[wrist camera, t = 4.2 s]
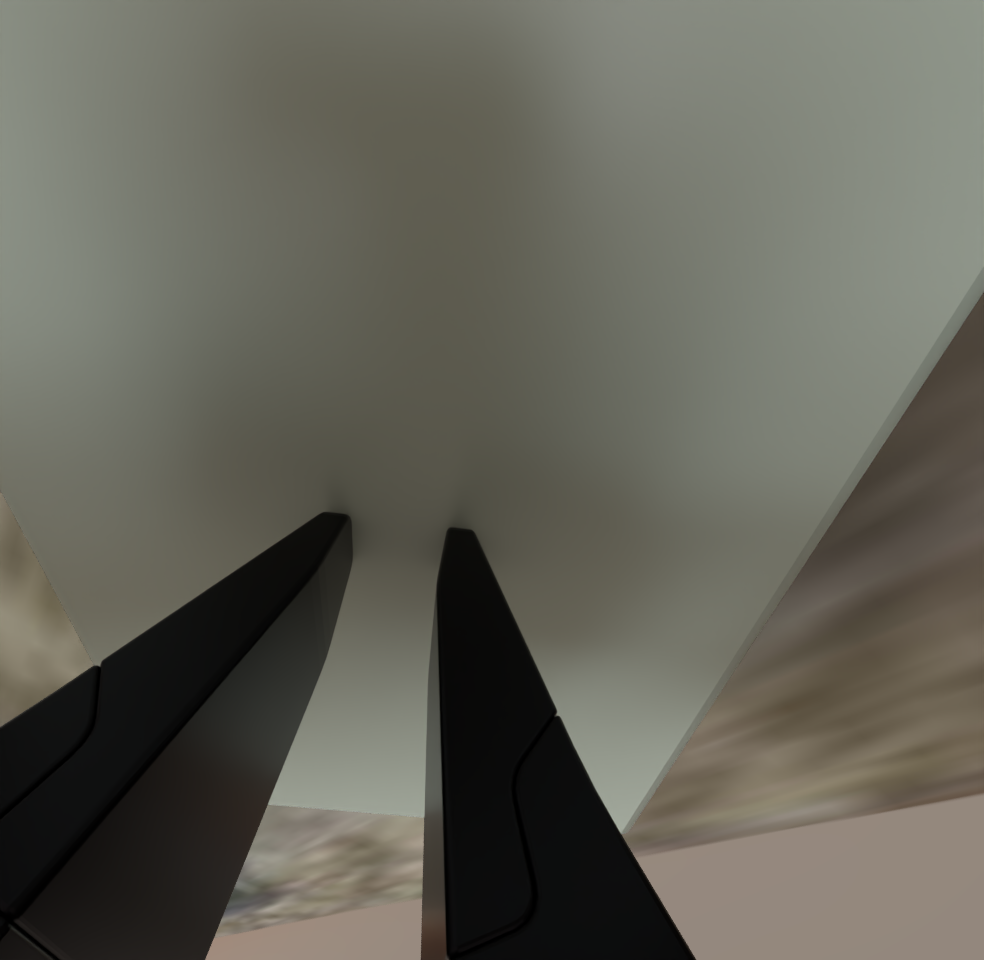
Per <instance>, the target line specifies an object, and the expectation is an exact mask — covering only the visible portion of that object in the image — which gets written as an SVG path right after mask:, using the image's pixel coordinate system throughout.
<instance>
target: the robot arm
mask: <svg viewBox="0 0 984 960" xmlns="http://www.w3.org/2000/svg"><path fill="white" fill-rule="evenodd" d="M352 561H353V541H352V521H351V518H350V516H349V515H347V514H342V513H334V512H322V513H320V514H318V515H317V516H315V517H314V518H312V519H311V520H309V521H308V522H306V523H305V524H303V525H302V526H300V527H299V528H297V529H296V530H294V531H293V532H291V533H290V534H289V535H287V536H286V537H284V538H283V539H281V540H280V541H278V542H277V543H275V544H274V545H272V546H271V547H269V548H268V549H266V550H265V551H263V552H262V553H260V554H259V555H257V556H256V557H254V558H253V559H251V560H250V561H248V562H247V563H246V564H244V565H243V566H241V567H240V568H238V569H237V570H235V571H234V572H232V573H231V574H229V575H228V576H226V577H225V578H223V579H222V580H220V581H219V582H217V583H216V584H214V585H213V586H211V587H210V588H208V589H207V590H205V591H204V592H203V593H201V594H200V595H198V596H197V597H195V598H194V599H192V600H191V601H189V602H188V603H186V604H185V605H183V606H182V607H180V608H179V609H177V610H176V611H174V612H173V613H171V614H170V615H168V616H167V617H165V618H164V619H162V620H161V621H160V622H158V623H157V624H155V625H154V626H152V627H151V628H149V629H148V630H146V631H145V632H143V633H142V634H140V635H139V636H137V637H136V638H134V639H133V640H131V641H130V642H128V643H127V644H125V645H124V646H122V647H121V648H119V649H118V650H117V651H115V652H114V653H112V654H111V655H109V656H108V657H106V658H105V659H103V660H102V662H101V664H100V666H98V665H95V666H92V667H91V668H89V669H88V670H86V671H85V672H83V673H82V674H80V675H79V676H78V677H76V678H75V679H73V680H72V681H70V682H69V683H67V684H66V685H64V686H63V687H61V688H60V689H58V690H57V691H55V692H54V693H52V694H50V695H49V696H47V697H46V698H44V699H43V700H41V701H40V702H38V703H37V704H35V705H34V706H32V707H30V708H29V709H27V710H26V711H24V712H23V713H21V714H20V715H18V716H17V717H15V718H14V719H12V720H10V721H9V722H7V723H6V724H4V725H3V726H1V727H0V960H205V958H206V956H207V954H208V951H209V948H210V946H211V944H212V941H213V939H214V936H215V934H216V931H217V929H218V926H219V924H220V921H221V919H222V916H223V914H224V912H225V909H226V907H227V904H228V902H229V899H230V897H231V894H232V892H233V889H234V887H235V884H236V882H237V879H238V877H239V874H240V872H241V870H242V867H243V865H244V862H245V860H246V857H247V855H248V852H249V850H250V847H251V845H252V842H253V840H254V837H255V835H256V832H257V830H258V827H259V825H260V823H261V820H262V818H263V815H264V813H265V810H266V808H267V805H268V803H269V800H270V798H271V795H272V793H273V790H274V788H275V785H276V783H277V781H278V778H279V776H280V773H281V771H282V768H283V766H284V763H285V761H286V758H287V756H288V753H289V751H290V748H291V746H292V743H293V741H294V739H295V736H296V734H297V731H298V729H299V726H300V724H301V721H302V719H303V716H304V714H305V711H306V709H307V706H308V704H309V701H310V699H311V696H312V694H313V692H314V689H315V687H316V684H317V682H318V679H319V677H320V674H321V672H322V669H323V666H324V663H325V661H326V658H327V655H328V651H329V648H330V644H331V641H332V637H333V634H334V630H335V626H336V623H337V619H338V615H339V612H340V608H341V604H342V601H343V597H344V593H345V590H346V586H347V582H348V579H349V575H350V571H351V567H352ZM556 715H557V709H556V706H555V704H554V702H553V700H552V698H551V696H550V693H549V691H548V689H547V687H546V685H545V683H544V681H543V678H542V676H541V674H540V672H539V670H538V668H537V665H536V663H535V661H534V659H533V657H532V655H531V652H530V650H529V648H528V646H527V644H526V642H525V639H524V637H523V635H522V633H521V631H520V629H519V626H518V624H517V622H516V620H515V618H514V616H513V613H512V611H511V609H510V607H509V605H508V603H507V600H506V598H505V596H504V594H503V592H502V590H501V587H500V585H499V583H498V581H497V579H496V577H495V575H494V572H493V570H492V568H491V566H490V564H489V562H488V559H487V557H486V555H485V553H484V551H483V549H482V546H481V544H480V542H479V540H478V538H477V536H476V534H475V532H474V531H473V530H471V529H464V528H456V527H450V528H448V529H447V531H446V536H445V541H444V546H443V551H442V556H441V561H440V566H439V571H438V576H437V584H436V594H435V605H434V616H433V627H432V638H431V649H430V660H429V672H428V696H427V735H426V775H425V815H424V855H423V894H422V934H421V935H422V936H421V937H422V938H421V960H696V959H695V957H694V955H693V954H692V952H691V950H690V949H689V947H688V945H687V944H686V942H685V940H684V939H683V937H682V935H681V934H680V932H679V930H678V929H677V927H676V925H675V924H674V922H673V920H672V919H671V917H670V915H669V914H668V912H667V910H666V909H665V907H664V905H663V904H662V902H661V900H660V898H659V897H658V895H657V893H656V892H655V890H654V889H653V887H652V885H651V884H650V882H649V880H648V879H647V877H646V875H645V873H644V872H643V870H642V869H641V867H640V865H639V863H638V862H637V860H636V858H635V857H634V855H633V853H632V852H631V850H630V848H629V847H628V845H627V843H626V842H625V840H624V838H623V836H622V835H621V833H620V831H619V829H618V828H617V826H616V824H615V822H614V821H613V819H612V817H611V815H610V814H609V812H608V810H607V808H606V807H605V805H604V803H603V801H602V799H601V798H600V796H599V794H598V792H597V791H596V789H595V787H594V785H593V783H592V781H591V779H590V777H589V775H588V773H587V771H586V769H585V767H584V765H583V763H582V761H581V759H580V757H579V755H578V753H577V751H576V749H575V747H574V745H573V743H572V740H571V738H570V736H569V734H568V732H567V730H566V727H565V725H564V723H563V721H562V719H561V717H560V716H556Z"/></svg>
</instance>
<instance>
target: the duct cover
mask: <svg viewBox="0 0 984 960" xmlns="http://www.w3.org/2000/svg"><path fill="white" fill-rule="evenodd" d="M983 292H984V0H0V491H1V493H2V494H3V496H4V498H5V500H6V502H7V504H8V506H9V507H10V509H11V511H12V513H13V515H14V517H15V519H16V521H17V522H18V524H19V526H20V528H21V530H22V532H23V534H24V535H25V537H26V539H27V541H28V543H29V545H30V547H31V549H32V550H33V552H34V554H35V556H36V558H37V560H38V562H39V563H40V565H41V567H42V569H43V571H44V573H45V575H46V577H47V578H48V580H49V582H50V584H51V586H52V588H53V590H54V591H55V593H56V595H57V597H58V599H59V601H60V603H61V605H62V606H63V608H64V610H65V612H66V614H67V616H68V618H69V619H70V621H71V623H72V625H73V627H74V629H75V631H76V633H77V634H78V636H79V638H80V640H81V642H82V644H83V646H84V647H85V649H86V651H87V653H88V655H89V657H90V659H91V661H92V662H93V664H94V666H95V665H98V666H100V664H101V662H102V660H103V659H105V658H106V657H108V656H109V655H111V654H112V653H114V652H115V651H117V650H118V649H119V648H121V647H122V646H124V645H125V644H127V643H128V642H130V641H131V640H133V639H134V638H136V637H137V636H139V635H140V634H142V633H143V632H145V631H146V630H148V629H149V628H151V627H152V626H154V625H155V624H157V623H158V622H160V621H161V620H162V619H164V618H165V617H167V616H168V615H170V614H171V613H173V612H174V611H176V610H177V609H179V608H180V607H182V606H183V605H185V604H186V603H188V602H189V601H191V600H192V599H194V598H195V597H197V596H198V595H200V594H201V593H203V592H204V591H205V590H207V589H208V588H210V587H211V586H213V585H214V584H216V583H217V582H219V581H220V580H222V579H223V578H225V577H226V576H228V575H229V574H231V573H232V572H234V571H235V570H237V569H238V568H240V567H241V566H243V565H244V564H246V563H247V562H248V561H250V560H251V559H253V558H254V557H256V556H257V555H259V554H260V553H262V552H263V551H265V550H266V549H268V548H269V547H271V546H272V545H274V544H275V543H277V542H278V541H280V540H281V539H283V538H284V537H286V536H287V535H289V534H290V533H291V532H293V531H294V530H296V529H297V528H299V527H300V526H302V525H303V524H305V523H306V522H308V521H309V520H311V519H312V518H314V517H315V516H317V515H318V514H320V513H322V512H334V513H342V514H347V515H349V516H350V518H351V521H352V541H353V561H352V567H351V571H350V575H349V579H348V582H347V586H346V590H345V593H344V597H343V601H342V604H341V608H340V612H339V615H338V619H337V623H336V626H335V630H334V634H333V637H332V641H331V644H330V648H329V651H328V655H327V658H326V661H325V663H324V666H323V669H322V672H321V674H320V677H319V679H318V682H317V684H316V687H315V689H314V692H313V694H312V696H311V699H310V701H309V704H308V706H307V709H306V711H305V714H304V716H303V719H302V721H301V724H300V726H299V729H298V731H297V734H296V736H295V739H294V741H293V743H292V746H291V748H290V751H289V753H288V756H287V758H286V761H285V763H284V766H283V768H282V771H281V773H280V776H279V778H278V781H277V783H276V785H275V788H274V790H273V793H272V795H271V798H270V800H269V803H268V805H279V806H291V807H303V808H315V809H327V810H339V811H351V812H363V813H375V814H387V815H399V816H411V817H423V818H424V815H425V775H426V735H427V696H428V672H429V660H430V649H431V638H432V627H433V616H434V605H435V594H436V584H437V576H438V571H439V566H440V561H441V556H442V551H443V546H444V541H445V536H446V531H447V529H448V528H450V527H456V528H464V529H471V530H473V531H474V532H475V534H476V536H477V538H478V540H479V542H480V544H481V546H482V549H483V551H484V553H485V555H486V557H487V559H488V562H489V564H490V566H491V568H492V570H493V572H494V575H495V577H496V579H497V581H498V583H499V585H500V587H501V590H502V592H503V594H504V596H505V598H506V600H507V603H508V605H509V607H510V609H511V611H512V613H513V616H514V618H515V620H516V622H517V624H518V626H519V629H520V631H521V633H522V635H523V637H524V639H525V642H526V644H527V646H528V648H529V650H530V652H531V655H532V657H533V659H534V661H535V663H536V665H537V668H538V670H539V672H540V674H541V676H542V678H543V681H544V683H545V685H546V687H547V689H548V691H549V693H550V696H551V698H552V700H553V702H554V704H555V706H556V709H557V715H556V716H560V717H561V719H562V721H563V723H564V725H565V727H566V730H567V732H568V734H569V736H570V738H571V740H572V743H573V745H574V747H575V749H576V751H577V753H578V755H579V757H580V759H581V761H582V763H583V765H584V767H585V769H586V771H587V773H588V775H589V777H590V779H591V781H592V783H593V785H594V787H595V789H596V791H597V792H598V794H599V796H600V798H601V799H602V801H603V803H604V805H605V807H606V808H607V810H608V812H609V814H610V815H611V817H612V819H613V821H614V822H615V824H616V826H617V828H618V829H619V831H620V833H621V834H625V833H627V832H628V831H629V830H630V829H631V828H632V826H633V825H634V823H635V822H636V820H637V818H638V817H639V815H640V814H641V812H642V811H643V809H644V808H645V806H646V805H647V803H648V802H649V800H650V799H651V797H652V796H653V794H654V793H655V791H656V790H657V788H658V787H659V785H660V783H661V782H662V780H663V779H664V777H665V776H666V774H667V773H668V771H669V770H670V768H671V767H672V765H673V764H674V762H675V761H676V759H677V758H678V756H679V755H680V753H681V752H682V750H683V749H684V747H685V745H686V744H687V742H688V741H689V739H690V738H691V736H692V735H693V733H694V732H695V730H696V729H697V727H698V726H699V724H700V723H701V721H702V720H703V718H704V717H705V715H706V714H707V712H708V711H709V709H710V707H711V706H712V704H713V703H714V701H715V700H716V698H717V697H718V695H719V694H720V692H721V691H722V689H723V688H724V686H725V685H726V683H727V682H728V680H729V679H730V677H731V676H732V674H733V673H734V671H735V669H736V668H737V666H738V665H739V663H740V662H741V660H742V659H743V657H744V656H745V654H746V653H747V651H748V650H749V648H750V647H751V645H752V644H753V642H754V641H755V639H756V638H757V636H758V635H759V633H760V631H761V630H762V628H763V627H764V625H765V624H766V622H767V621H768V619H769V618H770V616H771V615H772V613H773V612H774V610H775V609H776V607H777V606H778V604H779V603H780V601H781V600H782V598H783V596H784V595H785V593H786V592H787V590H788V589H789V587H790V586H791V584H792V583H793V581H794V580H795V578H796V577H797V575H798V574H799V572H800V571H801V569H802V568H803V566H804V565H805V563H806V562H807V560H808V558H809V557H810V555H811V554H812V552H813V551H814V549H815V548H816V546H817V545H818V543H819V542H820V540H821V539H822V537H823V536H824V534H825V533H826V531H827V530H828V528H829V527H830V525H831V524H832V522H833V520H834V519H835V517H836V516H837V514H838V513H839V511H840V510H841V508H842V507H843V505H844V504H845V502H846V501H847V499H848V498H849V496H850V495H851V493H852V492H853V490H854V489H855V487H856V486H857V484H858V482H859V481H860V479H861V478H862V476H863V475H864V473H865V472H866V470H867V469H868V467H869V466H870V464H871V463H872V461H873V460H874V458H875V457H876V455H877V454H878V452H879V451H880V449H881V448H882V446H883V444H884V443H885V441H886V440H887V438H888V437H889V435H890V434H891V432H892V431H893V429H894V428H895V426H896V425H897V423H898V422H899V420H900V419H901V417H902V416H903V414H904V413H905V411H906V410H907V408H908V406H909V405H910V403H911V402H912V400H913V399H914V397H915V396H916V394H917V393H918V391H919V390H920V388H921V387H922V385H923V384H924V382H925V381H926V379H927V378H928V376H929V375H930V373H931V371H932V370H933V368H934V367H935V365H936V364H937V362H938V361H939V359H940V358H941V356H942V355H943V353H944V352H945V350H946V349H947V347H948V346H949V344H950V343H951V341H952V340H953V338H954V337H955V335H956V333H957V332H958V330H959V329H960V327H961V326H962V324H963V323H964V321H965V320H966V318H967V317H968V315H969V314H970V312H971V311H972V309H973V308H974V306H975V305H976V303H977V302H978V300H979V299H980V297H981V295H982V294H983Z"/></svg>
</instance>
